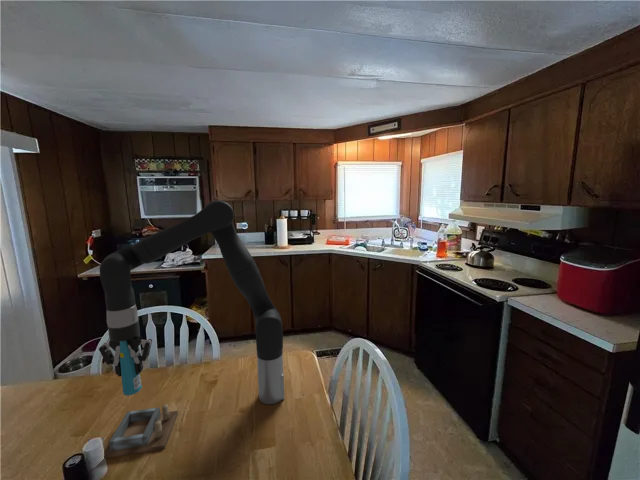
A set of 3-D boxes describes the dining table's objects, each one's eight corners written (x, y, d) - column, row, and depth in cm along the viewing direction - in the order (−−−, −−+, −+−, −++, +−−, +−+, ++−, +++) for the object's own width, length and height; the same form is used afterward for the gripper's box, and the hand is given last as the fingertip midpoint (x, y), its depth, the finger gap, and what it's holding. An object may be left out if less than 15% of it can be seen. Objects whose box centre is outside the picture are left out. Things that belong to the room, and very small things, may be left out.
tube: (126, 385, 92) (118, 328, 89) (143, 381, 94) (136, 325, 90) (120, 400, 85) (112, 340, 82) (139, 396, 87) (132, 336, 84)
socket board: (177, 413, 101) (176, 397, 99) (164, 448, 87) (162, 430, 86) (126, 421, 98) (124, 404, 96) (104, 458, 84) (101, 439, 83)
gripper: (154, 313, 90) (159, 364, 93) (102, 317, 88) (110, 369, 91) (144, 324, 83) (151, 378, 86) (88, 329, 80) (96, 385, 83)
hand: (129, 373), depth 88 cm, fingers closed on tube, 4 cm apart
